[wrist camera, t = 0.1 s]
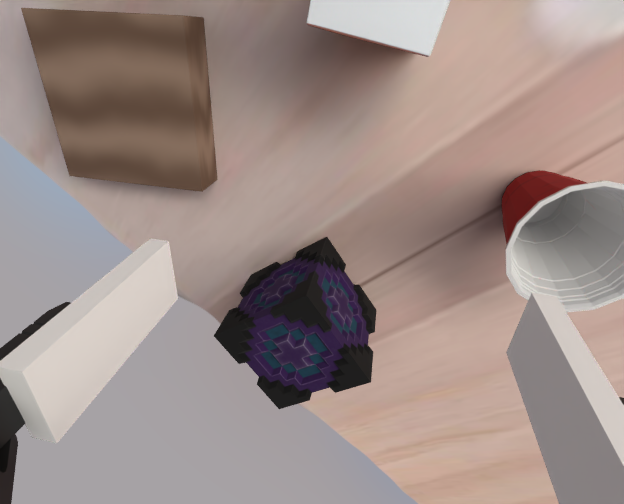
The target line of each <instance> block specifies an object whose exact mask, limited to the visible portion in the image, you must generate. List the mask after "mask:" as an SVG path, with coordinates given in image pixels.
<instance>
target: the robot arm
mask: <svg viewBox="0 0 624 504" xmlns="http://www.w3.org/2000/svg"><path fill="white" fill-rule="evenodd" d="M177 299H178V295H177V289H176V283H175V276H174V270H173V264H172V258H171V252H170V246H169V241H165V240H158V239H151V238H150V239H149V240H148V241H147V242H145V243H144V244H143V245H142V246H140V247H139V248H138V249H137V250H136V251H134V252H133V253H132V254H131V255H130V256H128V257H127V258H126V259H125V260H123V261H122V262H121V263H120V264H118V265H117V266H116V267H115V268H113V269H112V270H111V271H110V272H109V273H107V274H106V275H105V276H104V277H103V278H101V279H100V280H99V281H98V282H96V283H95V284H94V285H93V286H91V287H90V288H89V289H88V290H87V291H85V292H84V293H83V294H82V295H81V296H79V297H78V298H77V299H75V300H74V301H73V302H72V303H70V302H65V303H63V304H61V305H59V306H57V307H55V308H53V309H51V310H49V311H47V312H46V313H45V314H43V315H42V316H41V317H40V318H39V319H37V320H36V321H35V322H34V324H31V325H29V326H28V327H27V328H26V329H24V330H23V331H22V333H21V334H18V335H17V336H15V337H14V338H13V339H12V340H10V341H9V342H8V343H6V344H5V345H4V346H3V347H1V348H0V504H11V500H12V491H13V482H14V472H15V464H16V455H17V447H18V441H17V437H16V435H15V433H16V432H17V431H18V430H19V429H20V428H21V427H22V426H23V425H24V424H25V425H26V427H27V429H28V431H29V433H30V435H31V436H32V438H36V439H40V440H45V441H49V442H53V443H57V442H58V441H59V440H60V439H61V438H62V436H63V435H64V434H65V433H66V432H67V431H68V429H69V428H70V427H71V426H72V425H73V423H74V422H75V421H76V420H77V419H78V417H79V416H80V415H81V414H82V413H83V412H84V410H85V409H86V408H87V407H88V406H89V404H90V403H91V402H92V401H93V399H94V398H95V397H96V396H97V395H98V393H99V392H100V391H101V390H102V389H103V388H104V386H105V385H106V384H107V383H108V382H109V380H110V379H111V378H112V377H113V376H114V374H115V373H116V372H117V371H118V370H119V368H120V367H121V366H122V365H123V364H124V363H125V361H126V360H127V359H128V358H129V356H130V355H131V354H132V353H133V351H134V350H135V349H136V348H137V347H138V346H139V345H140V343H141V342H142V341H143V340H144V339H145V337H146V336H147V335H148V334H149V333H150V331H151V330H152V329H153V328H154V327H155V326H156V324H157V323H158V322H159V321H160V320H161V318H162V317H163V316H164V315H165V314H166V312H167V311H168V310H169V309H170V308H171V306H172V305H173V304H174V303H175V302H176V300H177ZM507 356H508V359H509V361H510V364H511V367H512V370H513V373H514V376H515V379H516V381H517V384H518V387H519V390H520V393H521V396H522V399H523V402H524V404H525V407H526V410H527V413H528V416H529V419H530V422H531V424H532V427H533V430H534V433H535V436H536V439H537V442H538V444H539V447H540V450H541V453H542V456H543V459H544V462H545V465H546V467H547V470H548V473H549V476H550V479H551V482H552V485H553V487H554V490H555V493H556V496H557V499H558V502H559V504H624V398H621V397H618V395H617V394H616V392H615V390H614V389H613V387H612V386H611V384H610V382H609V381H608V379H607V377H606V376H605V374H604V373H603V371H602V369H601V368H600V366H599V365H598V363H597V361H596V360H595V358H594V356H593V355H592V353H591V352H590V350H589V348H588V347H587V345H586V343H585V342H584V340H583V339H582V337H581V335H580V334H579V332H578V331H577V329H576V327H575V326H574V324H573V322H572V321H571V319H570V318H569V316H568V314H567V313H566V311H565V309H564V308H563V306H562V305H561V303H560V301H559V300H558V298H557V297H556V296H552V295H545V294H538V293H531V295H530V298H529V300H528V303H527V305H526V307H525V310H524V312H523V314H522V317H521V319H520V322H519V324H518V326H517V329H516V331H515V334H514V336H513V338H512V341H511V343H510V345H509V348H508V350H507Z"/></svg>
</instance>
